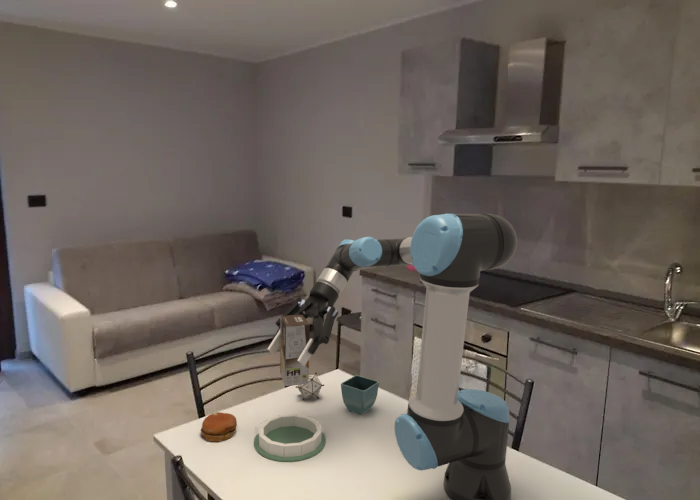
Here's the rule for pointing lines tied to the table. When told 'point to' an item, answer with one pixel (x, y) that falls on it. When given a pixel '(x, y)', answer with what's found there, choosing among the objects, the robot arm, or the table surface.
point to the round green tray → (289, 438)
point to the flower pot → (359, 393)
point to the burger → (219, 426)
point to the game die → (310, 387)
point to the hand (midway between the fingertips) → (285, 357)
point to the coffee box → (293, 349)
